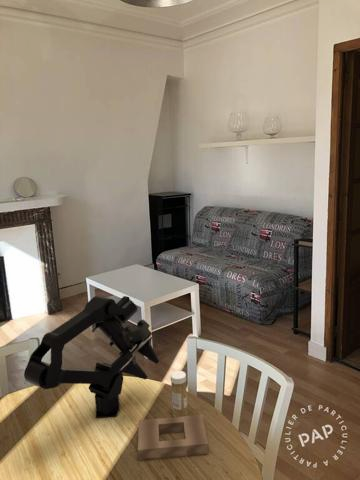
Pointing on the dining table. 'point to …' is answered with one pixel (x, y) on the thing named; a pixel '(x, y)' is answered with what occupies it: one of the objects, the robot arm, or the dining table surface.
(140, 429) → the socket block
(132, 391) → the dining table surface
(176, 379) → the sprinkles bottle
